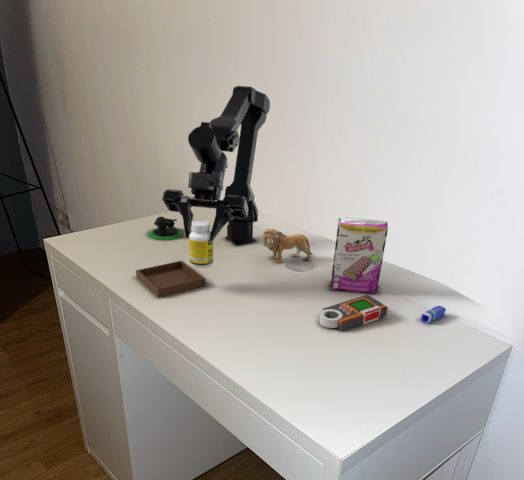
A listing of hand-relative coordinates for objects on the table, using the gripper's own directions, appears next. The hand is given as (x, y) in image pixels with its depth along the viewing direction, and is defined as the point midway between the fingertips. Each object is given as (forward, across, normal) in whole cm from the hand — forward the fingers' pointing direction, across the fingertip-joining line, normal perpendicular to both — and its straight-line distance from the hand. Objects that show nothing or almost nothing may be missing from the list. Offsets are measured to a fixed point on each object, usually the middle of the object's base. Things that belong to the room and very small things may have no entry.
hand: (198, 238), depth 120 cm
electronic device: (+13, +35, +5) cm, 38 cm away
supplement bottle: (+4, 0, +6) cm, 7 cm away
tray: (+8, -8, +10) cm, 15 cm away
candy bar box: (+2, +35, +16) cm, 39 cm away
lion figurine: (-7, +17, +25) cm, 31 cm away
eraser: (+10, +53, +8) cm, 54 cm away
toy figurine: (-14, -20, +32) cm, 40 cm away
